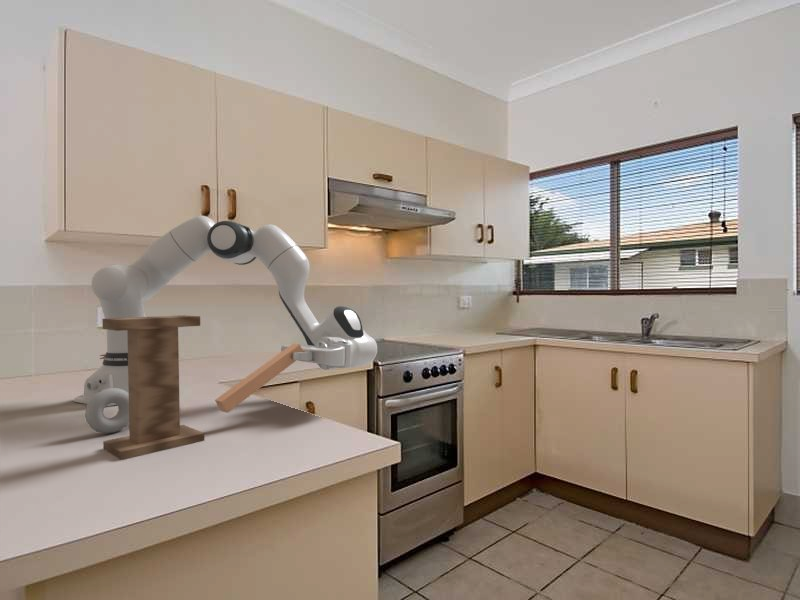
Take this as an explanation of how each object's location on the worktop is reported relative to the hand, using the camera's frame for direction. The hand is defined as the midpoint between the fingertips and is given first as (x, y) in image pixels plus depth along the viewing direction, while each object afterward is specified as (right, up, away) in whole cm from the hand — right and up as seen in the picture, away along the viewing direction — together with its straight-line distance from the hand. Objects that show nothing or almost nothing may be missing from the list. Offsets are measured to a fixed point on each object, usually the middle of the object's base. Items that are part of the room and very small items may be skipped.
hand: (287, 355), depth 124 cm
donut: (-36, -16, -14) cm, 42 cm away
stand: (-22, -16, -23) cm, 35 cm away
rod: (-4, -6, -5) cm, 8 cm away
